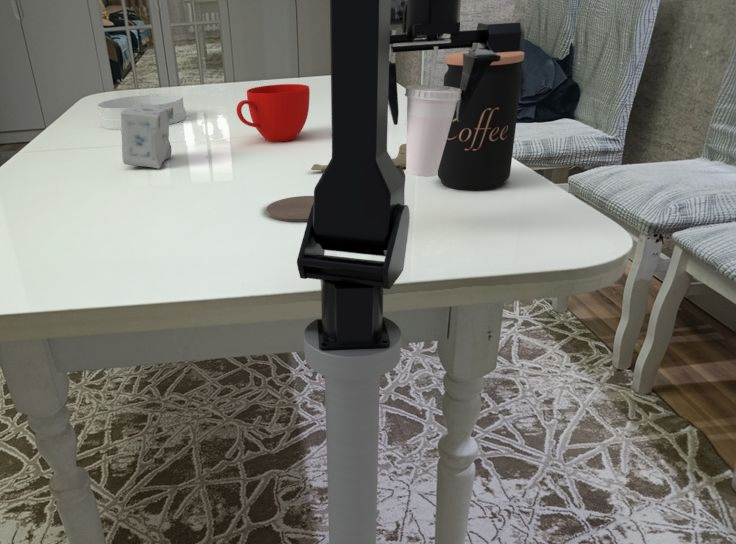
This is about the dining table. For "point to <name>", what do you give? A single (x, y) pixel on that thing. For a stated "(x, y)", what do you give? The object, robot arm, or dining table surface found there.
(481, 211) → the dining table surface
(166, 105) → the dish
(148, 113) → the incense holder
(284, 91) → the ceramic cup
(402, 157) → the jawbone
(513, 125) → the coffee jar
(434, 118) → the smoothie
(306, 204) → the coaster
